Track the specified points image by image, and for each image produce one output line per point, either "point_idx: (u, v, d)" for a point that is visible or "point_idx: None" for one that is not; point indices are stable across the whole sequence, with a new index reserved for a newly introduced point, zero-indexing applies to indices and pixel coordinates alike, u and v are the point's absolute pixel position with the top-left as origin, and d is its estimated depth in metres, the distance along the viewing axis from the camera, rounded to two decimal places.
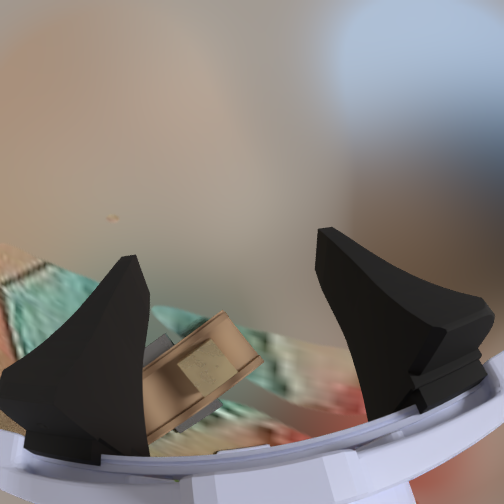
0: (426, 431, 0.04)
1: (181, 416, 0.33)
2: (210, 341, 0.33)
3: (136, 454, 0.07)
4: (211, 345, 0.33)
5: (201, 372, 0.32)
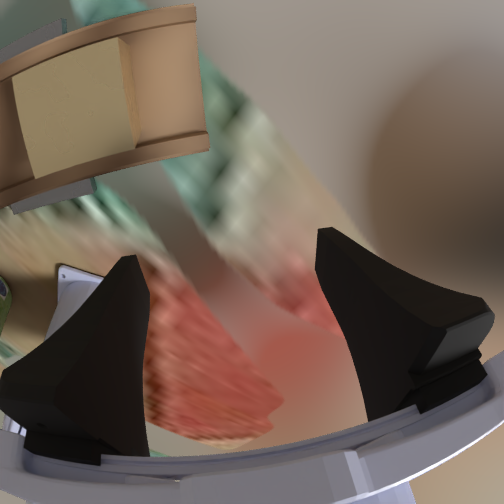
0: (426, 431, 0.04)
1: (2, 195, 0.13)
2: (111, 42, 0.08)
3: (136, 454, 0.07)
4: (107, 53, 0.09)
5: (50, 113, 0.09)
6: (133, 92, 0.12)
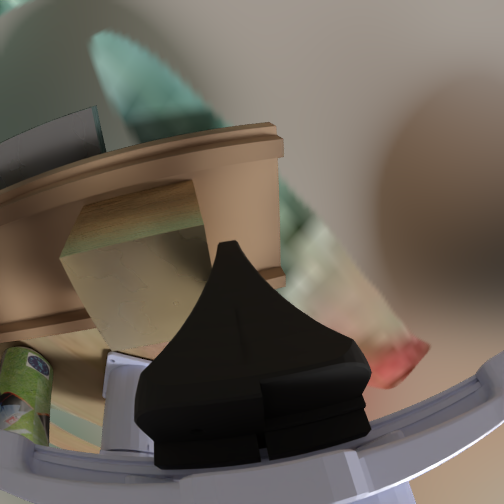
0: (426, 431, 0.04)
1: (58, 327, 0.14)
2: (196, 230, 0.09)
3: None
4: (192, 244, 0.09)
5: (124, 302, 0.10)
6: None
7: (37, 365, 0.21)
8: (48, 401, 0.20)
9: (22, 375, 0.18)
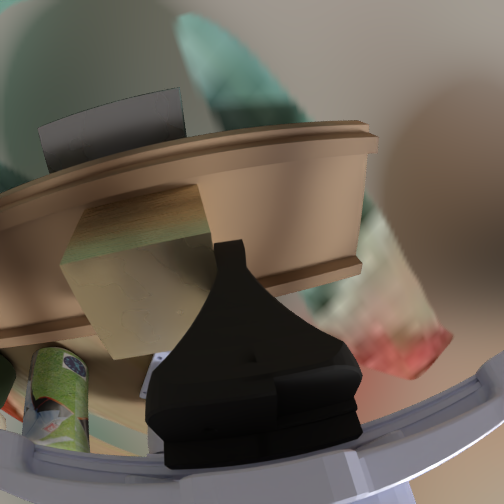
0: (426, 431, 0.04)
1: None
2: (202, 238, 0.09)
3: None
4: (197, 252, 0.09)
5: (127, 310, 0.10)
6: None
7: (74, 366, 0.21)
8: (86, 404, 0.20)
9: (59, 378, 0.19)
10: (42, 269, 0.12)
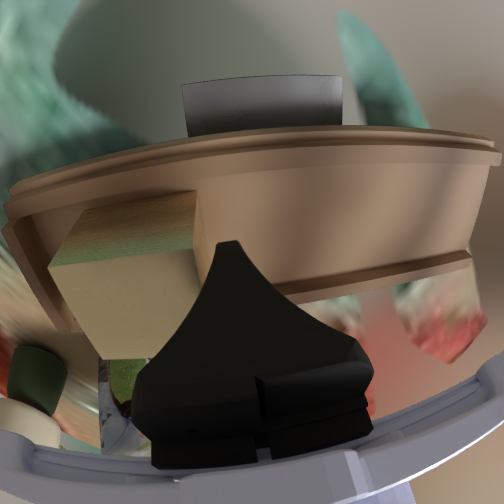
0: (426, 431, 0.04)
1: None
2: (184, 254, 0.08)
3: None
4: (180, 267, 0.09)
5: (112, 316, 0.09)
6: (206, 259, 0.12)
7: None
8: None
9: None
10: None
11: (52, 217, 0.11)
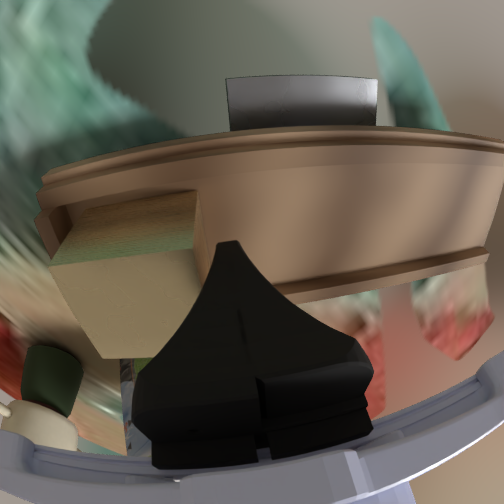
0: (426, 431, 0.04)
1: (322, 292, 0.15)
2: (184, 253, 0.08)
3: None
4: (179, 267, 0.09)
5: (112, 315, 0.09)
6: (206, 258, 0.12)
7: None
8: None
9: None
10: (243, 230, 0.13)
11: None
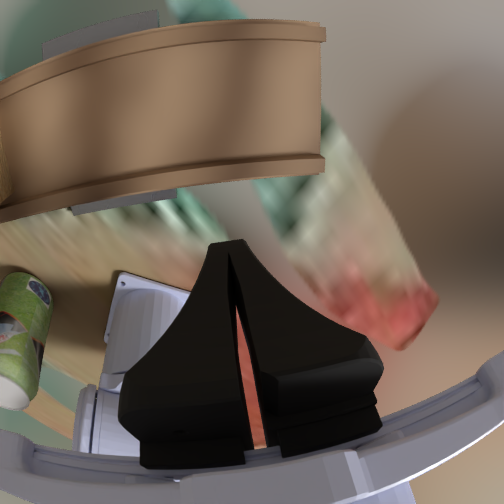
0: (426, 431, 0.04)
1: (83, 192, 0.14)
2: None
3: None
4: None
5: None
6: None
7: (39, 290, 0.20)
8: (44, 330, 0.19)
9: (20, 297, 0.18)
10: (23, 140, 0.12)
11: None
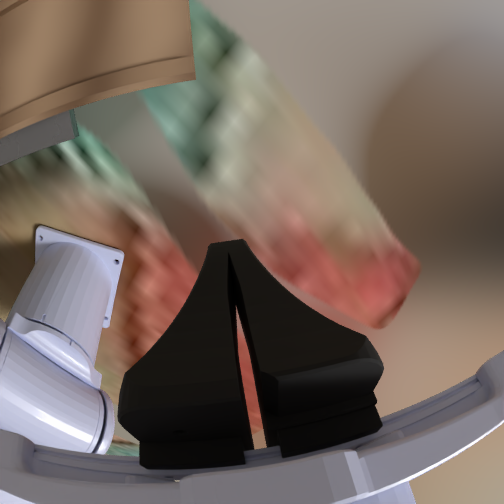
0: (426, 431, 0.04)
1: None
2: None
3: None
4: None
5: None
6: None
7: None
8: None
9: None
10: None
11: None
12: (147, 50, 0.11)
